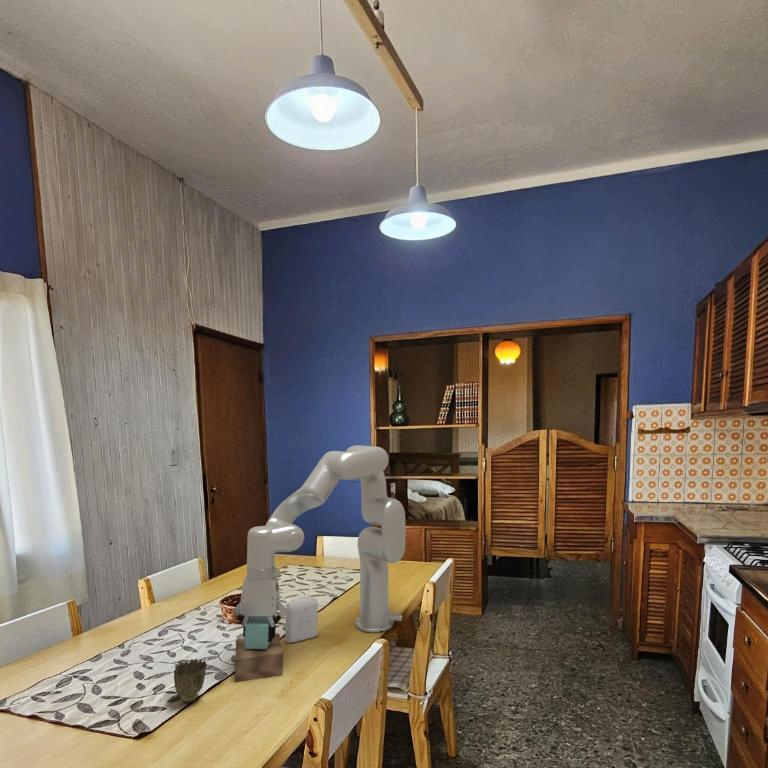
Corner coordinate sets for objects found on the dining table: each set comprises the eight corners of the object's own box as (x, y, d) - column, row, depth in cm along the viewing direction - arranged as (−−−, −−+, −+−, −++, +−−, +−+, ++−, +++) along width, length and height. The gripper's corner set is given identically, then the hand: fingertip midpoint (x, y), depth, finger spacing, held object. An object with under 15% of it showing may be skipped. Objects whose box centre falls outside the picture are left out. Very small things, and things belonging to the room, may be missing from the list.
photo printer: (313, 631, 152) (314, 592, 153) (319, 636, 149) (319, 596, 150) (283, 639, 147) (283, 598, 148) (288, 645, 143) (289, 603, 144)
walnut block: (278, 655, 138) (279, 633, 138) (282, 676, 126) (282, 652, 127) (235, 661, 134) (236, 639, 135) (235, 683, 123) (236, 659, 123)
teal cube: (272, 638, 134) (273, 616, 134) (266, 649, 128) (267, 626, 128) (251, 638, 134) (252, 616, 134) (244, 648, 128) (245, 625, 128)
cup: (178, 692, 118) (179, 658, 119) (209, 690, 119) (210, 657, 119) (167, 710, 111) (168, 674, 111) (199, 708, 111) (201, 673, 112)
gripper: (294, 568, 136) (293, 634, 134) (235, 567, 136) (233, 632, 135) (287, 577, 128) (286, 646, 127) (225, 576, 129) (223, 645, 128)
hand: (259, 639), depth 131 cm, fingers closed on teal cube, 5 cm apart
